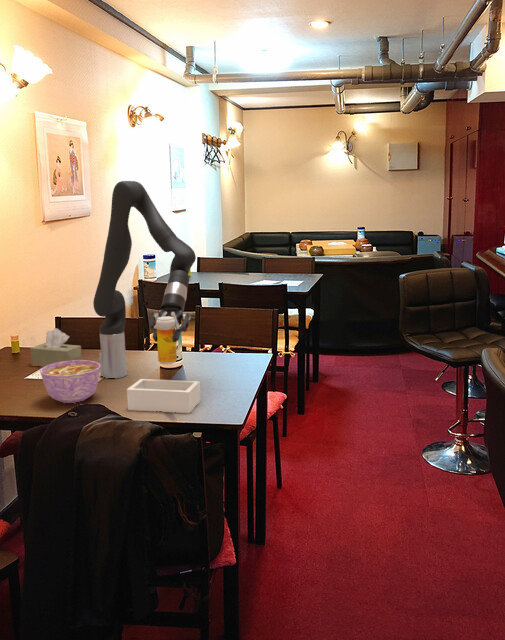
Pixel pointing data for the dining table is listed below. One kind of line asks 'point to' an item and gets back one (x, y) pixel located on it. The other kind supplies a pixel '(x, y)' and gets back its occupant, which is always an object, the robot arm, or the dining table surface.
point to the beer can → (166, 340)
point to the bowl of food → (71, 380)
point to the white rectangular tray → (163, 395)
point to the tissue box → (55, 350)
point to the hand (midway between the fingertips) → (165, 340)
